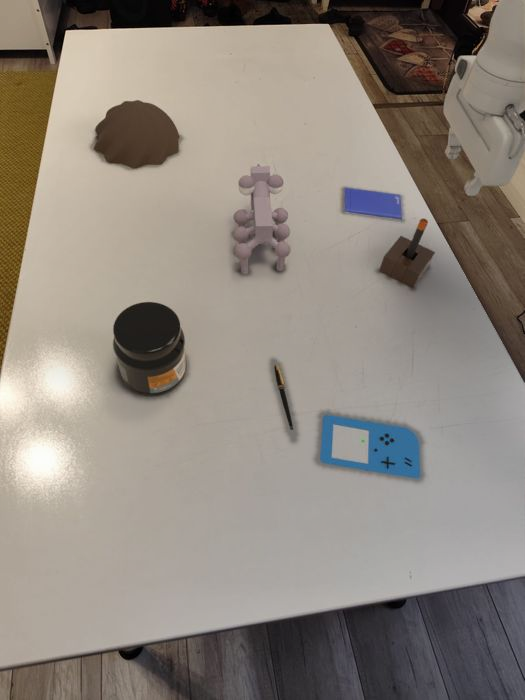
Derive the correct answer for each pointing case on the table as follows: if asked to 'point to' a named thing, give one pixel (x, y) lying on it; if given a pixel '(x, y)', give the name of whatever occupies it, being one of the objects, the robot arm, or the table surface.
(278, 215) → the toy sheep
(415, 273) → the holder
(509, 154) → the robot arm
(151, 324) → the supplement container
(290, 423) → the fountain pen
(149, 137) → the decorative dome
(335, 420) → the handheld gaming device
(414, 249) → the stylus
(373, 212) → the hard drive
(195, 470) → the table surface
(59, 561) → the table surface
